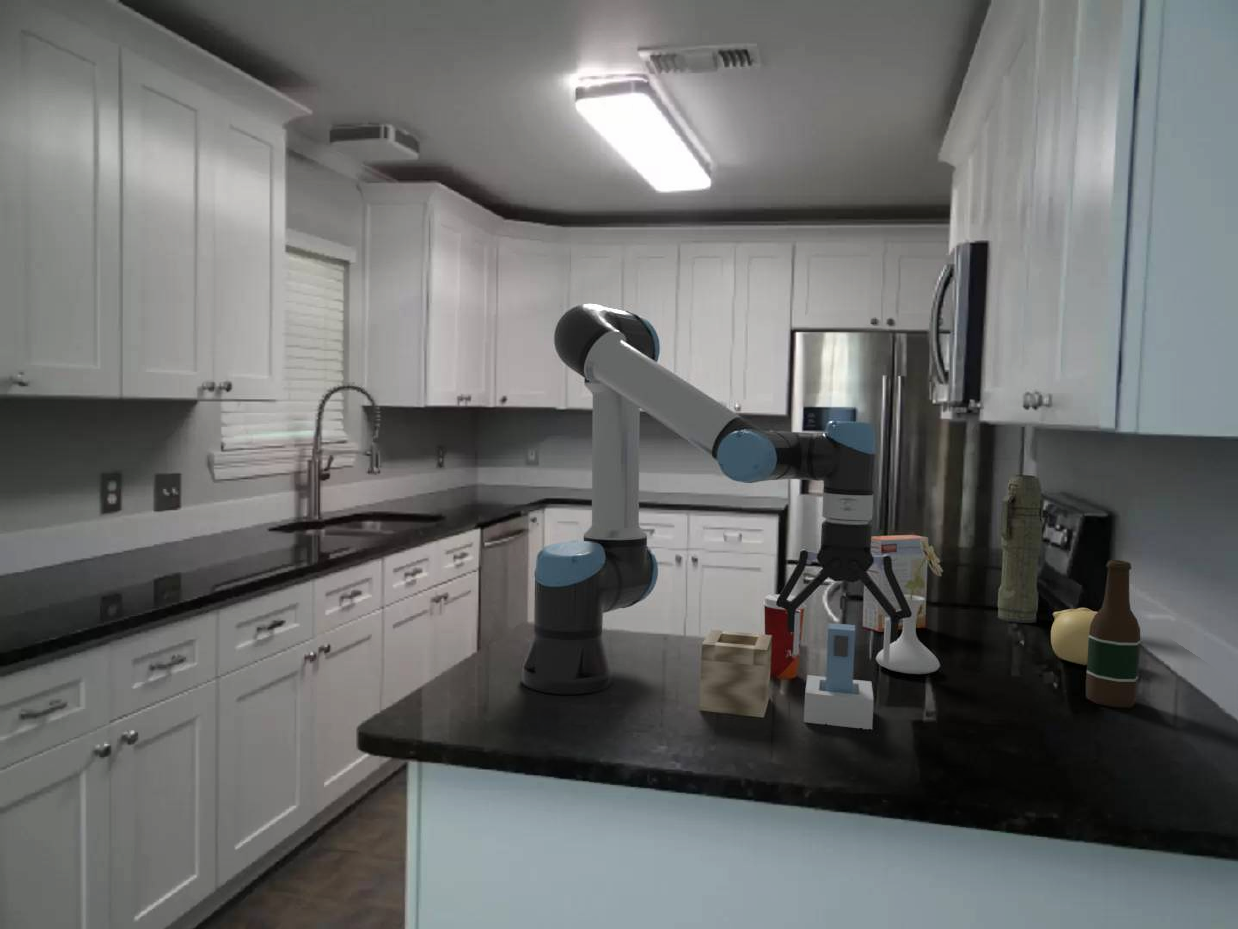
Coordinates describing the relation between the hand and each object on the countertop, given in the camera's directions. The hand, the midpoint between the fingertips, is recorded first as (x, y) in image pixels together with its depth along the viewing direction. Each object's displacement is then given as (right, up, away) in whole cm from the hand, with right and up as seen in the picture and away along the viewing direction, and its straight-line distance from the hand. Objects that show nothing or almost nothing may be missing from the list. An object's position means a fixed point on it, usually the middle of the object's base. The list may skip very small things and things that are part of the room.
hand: (840, 657), depth 137 cm
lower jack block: (0, -9, 0) cm, 9 cm away
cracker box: (+28, -7, +63) cm, 70 cm away
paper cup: (-5, -8, +22) cm, 24 cm away
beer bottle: (+49, -11, +13) cm, 52 cm away
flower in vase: (+20, -9, +28) cm, 36 cm away
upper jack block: (-16, -9, +4) cm, 18 cm away
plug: (0, -7, 0) cm, 7 cm away
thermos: (+62, -8, +77) cm, 100 cm away
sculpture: (+58, -10, +38) cm, 70 cm away
